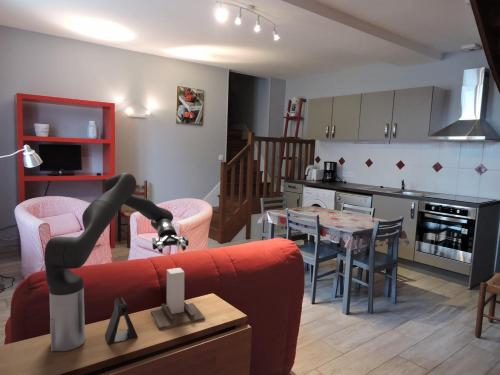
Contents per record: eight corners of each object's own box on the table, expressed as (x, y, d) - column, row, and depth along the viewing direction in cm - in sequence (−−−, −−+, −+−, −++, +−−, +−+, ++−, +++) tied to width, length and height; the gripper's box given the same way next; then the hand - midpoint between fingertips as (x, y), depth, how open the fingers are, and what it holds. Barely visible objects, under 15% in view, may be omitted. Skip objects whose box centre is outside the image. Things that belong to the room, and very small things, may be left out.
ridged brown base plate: (159, 330, 118) (159, 321, 118) (150, 313, 129) (150, 305, 129) (204, 320, 126) (205, 312, 125) (192, 305, 137) (192, 297, 137)
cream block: (170, 314, 126) (170, 273, 125) (166, 308, 131) (166, 269, 129) (184, 311, 129) (184, 271, 127) (179, 306, 133) (180, 267, 131)
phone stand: (133, 329, 118) (133, 294, 117) (137, 337, 113) (137, 301, 112) (104, 335, 114) (104, 299, 112) (107, 345, 108) (107, 307, 107)
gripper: (149, 227, 149) (154, 242, 135) (183, 224, 154) (191, 238, 140) (150, 243, 151) (154, 260, 137) (183, 239, 156) (191, 256, 142)
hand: (173, 249), depth 138 cm, fingers open, 8 cm apart
